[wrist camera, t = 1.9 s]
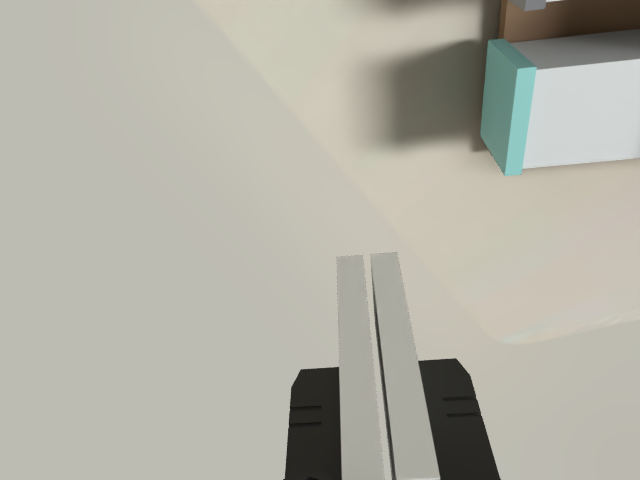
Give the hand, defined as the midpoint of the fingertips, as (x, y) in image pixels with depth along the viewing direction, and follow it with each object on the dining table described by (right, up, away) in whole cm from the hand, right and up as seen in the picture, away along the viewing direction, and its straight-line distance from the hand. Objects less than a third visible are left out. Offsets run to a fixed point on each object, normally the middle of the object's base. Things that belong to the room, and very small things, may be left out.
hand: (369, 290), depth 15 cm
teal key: (+14, +10, +11) cm, 20 cm away
